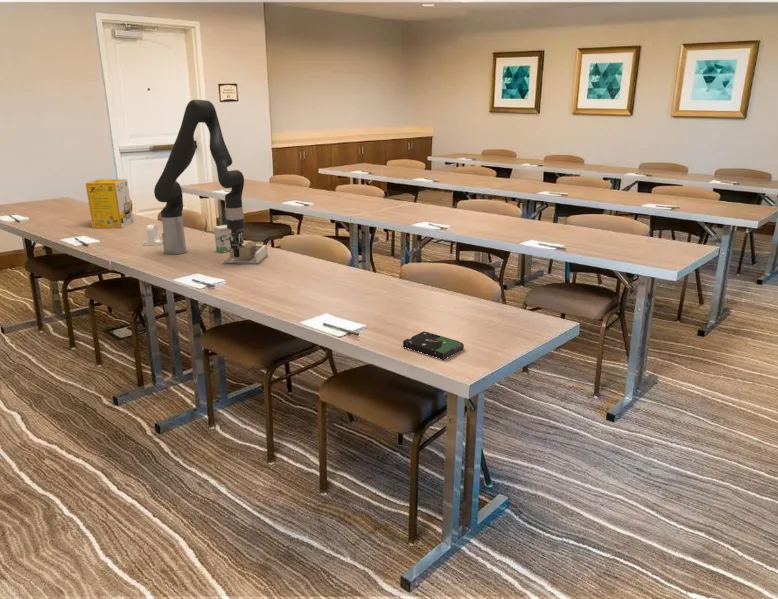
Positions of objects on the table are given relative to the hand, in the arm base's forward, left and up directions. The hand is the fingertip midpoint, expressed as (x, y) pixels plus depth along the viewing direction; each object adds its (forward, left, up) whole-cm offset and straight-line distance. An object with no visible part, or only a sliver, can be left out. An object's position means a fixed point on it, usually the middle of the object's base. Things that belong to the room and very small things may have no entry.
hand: (238, 255), depth 275 cm
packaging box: (-96, +76, -3) cm, 122 cm away
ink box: (-12, +20, -3) cm, 24 cm away
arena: (+2, +3, -3) cm, 5 cm away
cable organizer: (-52, +31, -3) cm, 61 cm away
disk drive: (+86, -94, -3) cm, 127 cm away
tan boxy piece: (+1, +3, -1) cm, 3 cm away
